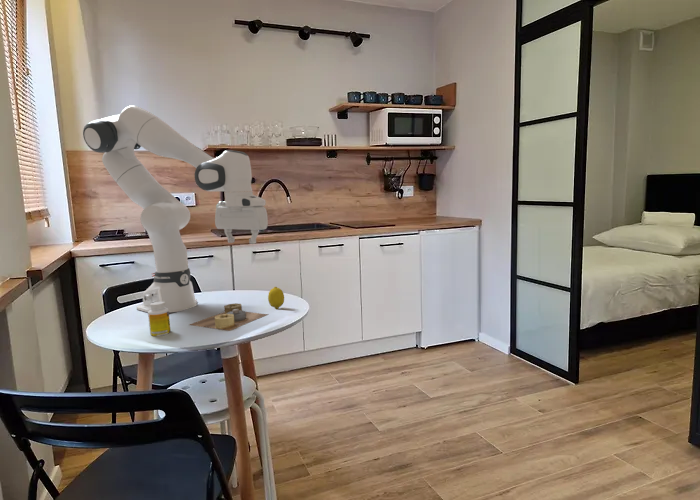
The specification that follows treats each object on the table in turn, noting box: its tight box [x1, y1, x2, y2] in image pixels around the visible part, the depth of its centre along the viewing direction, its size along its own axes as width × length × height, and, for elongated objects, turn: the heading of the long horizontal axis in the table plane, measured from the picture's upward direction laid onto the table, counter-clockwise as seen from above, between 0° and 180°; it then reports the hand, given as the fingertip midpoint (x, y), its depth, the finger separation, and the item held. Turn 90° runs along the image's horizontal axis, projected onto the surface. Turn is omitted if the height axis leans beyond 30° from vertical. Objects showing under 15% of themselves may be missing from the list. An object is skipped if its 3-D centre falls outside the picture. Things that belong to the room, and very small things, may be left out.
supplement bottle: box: [147, 301, 172, 337], centre depth 134 cm, size 6×6×10 cm
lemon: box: [267, 286, 285, 310], centre depth 159 cm, size 6×6×8 cm
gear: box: [215, 314, 235, 330], centre depth 138 cm, size 6×6×3 cm
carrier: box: [188, 303, 269, 332], centre depth 145 cm, size 17×18×4 cm
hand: (241, 243), depth 150 cm, fingers open, 8 cm apart
